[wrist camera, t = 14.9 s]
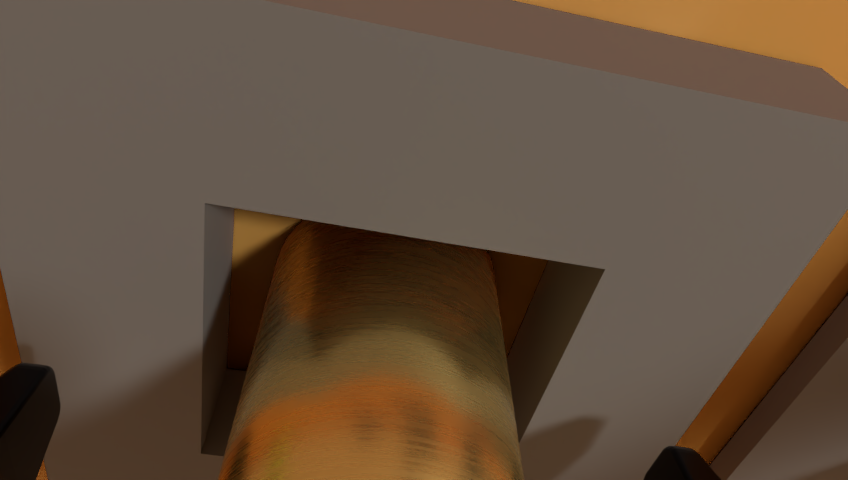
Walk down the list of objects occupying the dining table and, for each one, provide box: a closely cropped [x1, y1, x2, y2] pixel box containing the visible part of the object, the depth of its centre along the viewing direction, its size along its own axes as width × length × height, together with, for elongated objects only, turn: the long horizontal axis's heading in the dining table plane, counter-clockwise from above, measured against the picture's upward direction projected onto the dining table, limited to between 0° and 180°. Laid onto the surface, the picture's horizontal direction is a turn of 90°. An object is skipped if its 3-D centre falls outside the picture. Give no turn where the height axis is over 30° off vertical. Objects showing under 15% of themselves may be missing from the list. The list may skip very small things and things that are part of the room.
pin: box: [218, 220, 524, 480], centre depth 9 cm, size 4×4×7 cm
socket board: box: [0, 0, 848, 480], centre depth 11 cm, size 11×11×2 cm
